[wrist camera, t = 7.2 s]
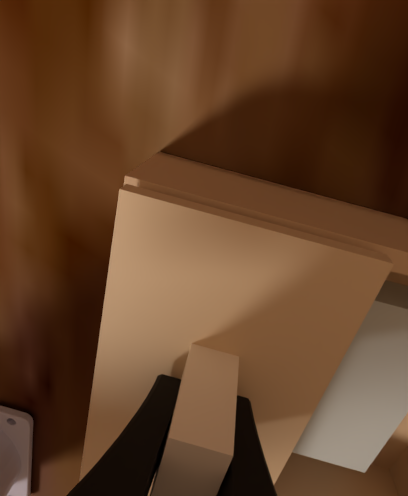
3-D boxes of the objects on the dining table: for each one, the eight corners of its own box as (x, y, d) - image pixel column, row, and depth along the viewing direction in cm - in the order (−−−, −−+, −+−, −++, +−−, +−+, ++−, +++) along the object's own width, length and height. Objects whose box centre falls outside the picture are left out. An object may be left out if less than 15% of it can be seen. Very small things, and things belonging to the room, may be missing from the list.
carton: (115, 392, 18) (84, 461, 14) (159, 151, 12) (125, 175, 9) (392, 470, 17) (423, 559, 14) (554, 258, 12) (662, 322, 9)
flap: (84, 468, 14) (35, 580, 11) (126, 183, 9) (56, 238, 6) (249, 516, 14) (248, 642, 11) (387, 254, 9) (459, 350, 6)
